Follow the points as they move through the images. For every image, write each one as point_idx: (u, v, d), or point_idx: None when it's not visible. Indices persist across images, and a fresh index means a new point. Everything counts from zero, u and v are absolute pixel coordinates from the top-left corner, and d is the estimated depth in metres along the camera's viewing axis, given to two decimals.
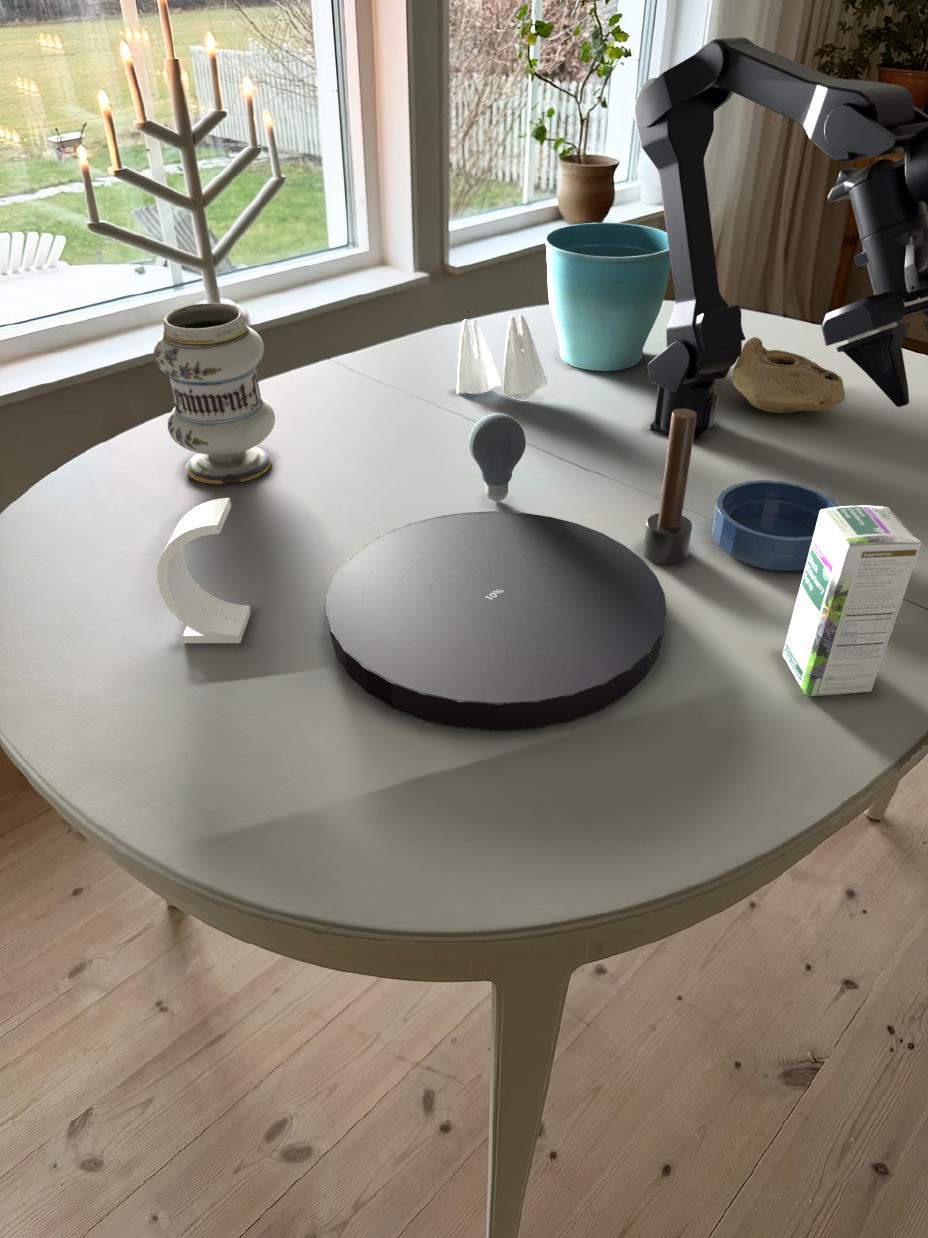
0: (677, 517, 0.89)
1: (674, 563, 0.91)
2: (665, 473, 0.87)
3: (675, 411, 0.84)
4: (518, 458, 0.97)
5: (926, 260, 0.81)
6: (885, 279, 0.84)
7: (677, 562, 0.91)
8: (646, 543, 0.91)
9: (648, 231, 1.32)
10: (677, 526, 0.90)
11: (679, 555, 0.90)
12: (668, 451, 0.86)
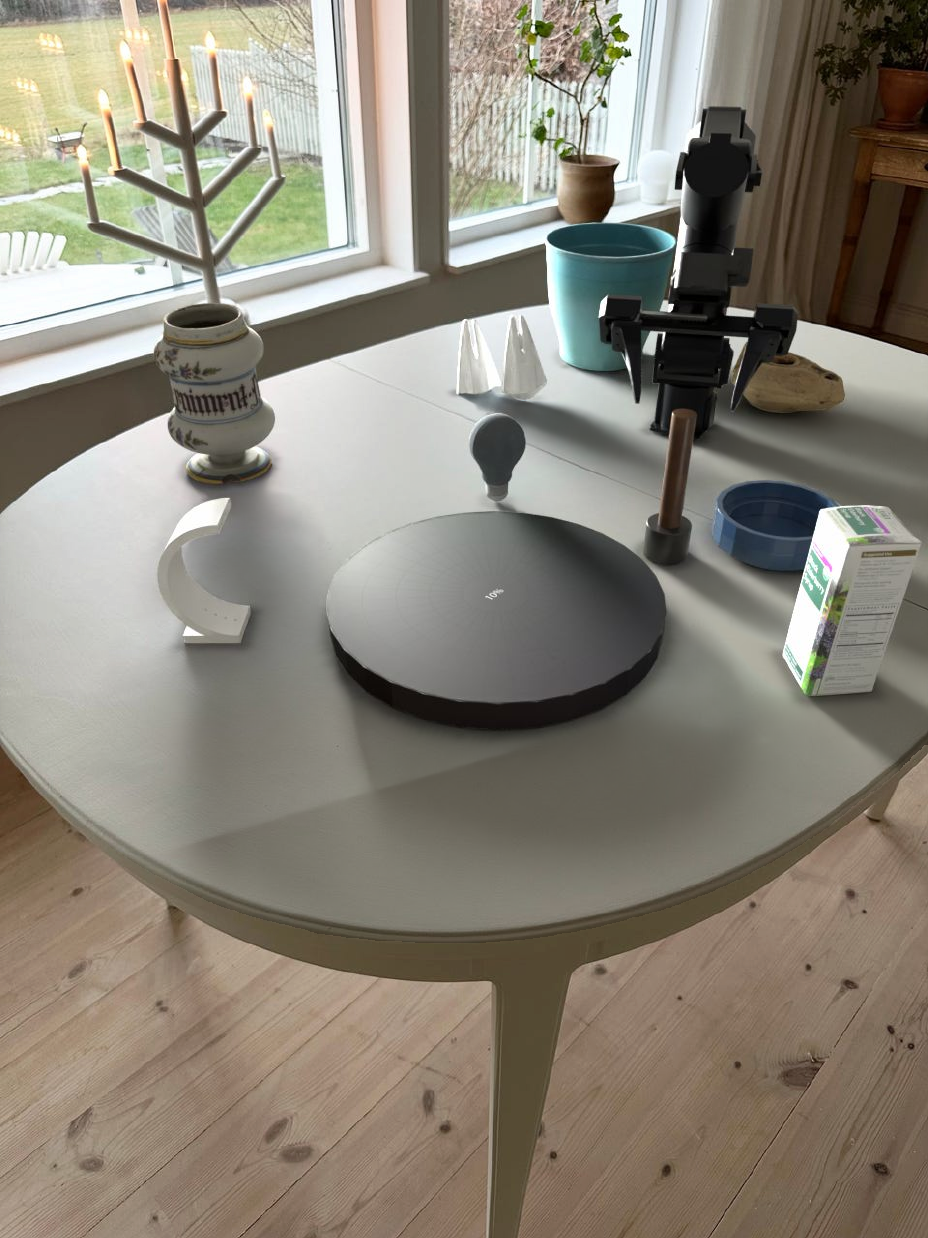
0: (677, 517, 0.89)
1: (674, 563, 0.91)
2: (665, 473, 0.87)
3: (675, 411, 0.84)
4: (518, 458, 0.97)
5: (674, 273, 0.89)
6: None
7: (677, 562, 0.91)
8: (646, 543, 0.91)
9: (648, 231, 1.32)
10: (677, 526, 0.90)
11: (679, 555, 0.90)
12: (668, 451, 0.86)
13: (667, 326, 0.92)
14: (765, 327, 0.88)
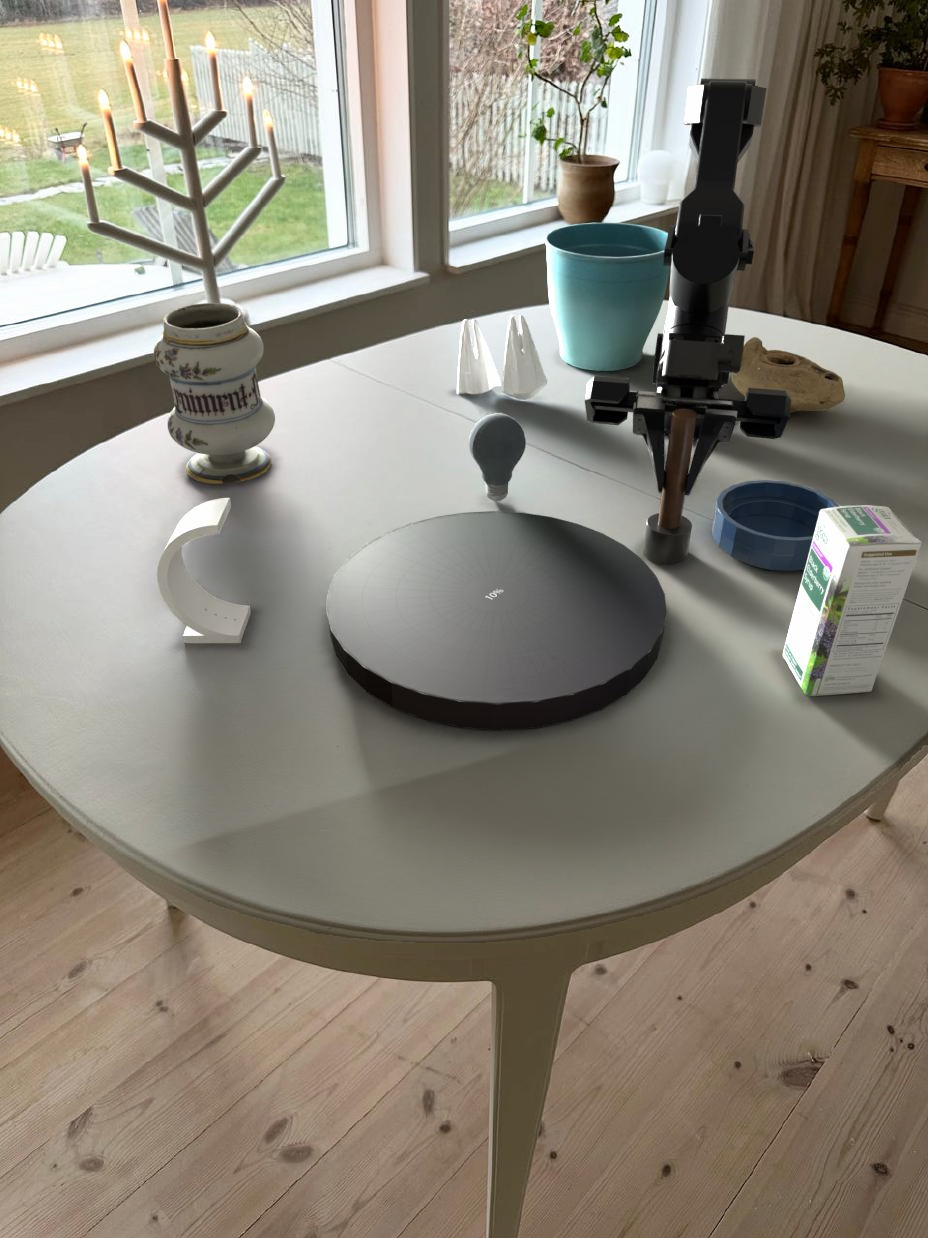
0: (677, 517, 0.89)
1: (674, 563, 0.91)
2: (665, 473, 0.87)
3: (675, 411, 0.84)
4: (518, 458, 0.97)
5: (663, 356, 0.85)
6: None
7: (677, 562, 0.91)
8: (646, 543, 0.91)
9: (648, 231, 1.32)
10: (677, 526, 0.90)
11: (679, 555, 0.90)
12: (668, 451, 0.86)
13: None
14: (757, 414, 0.84)
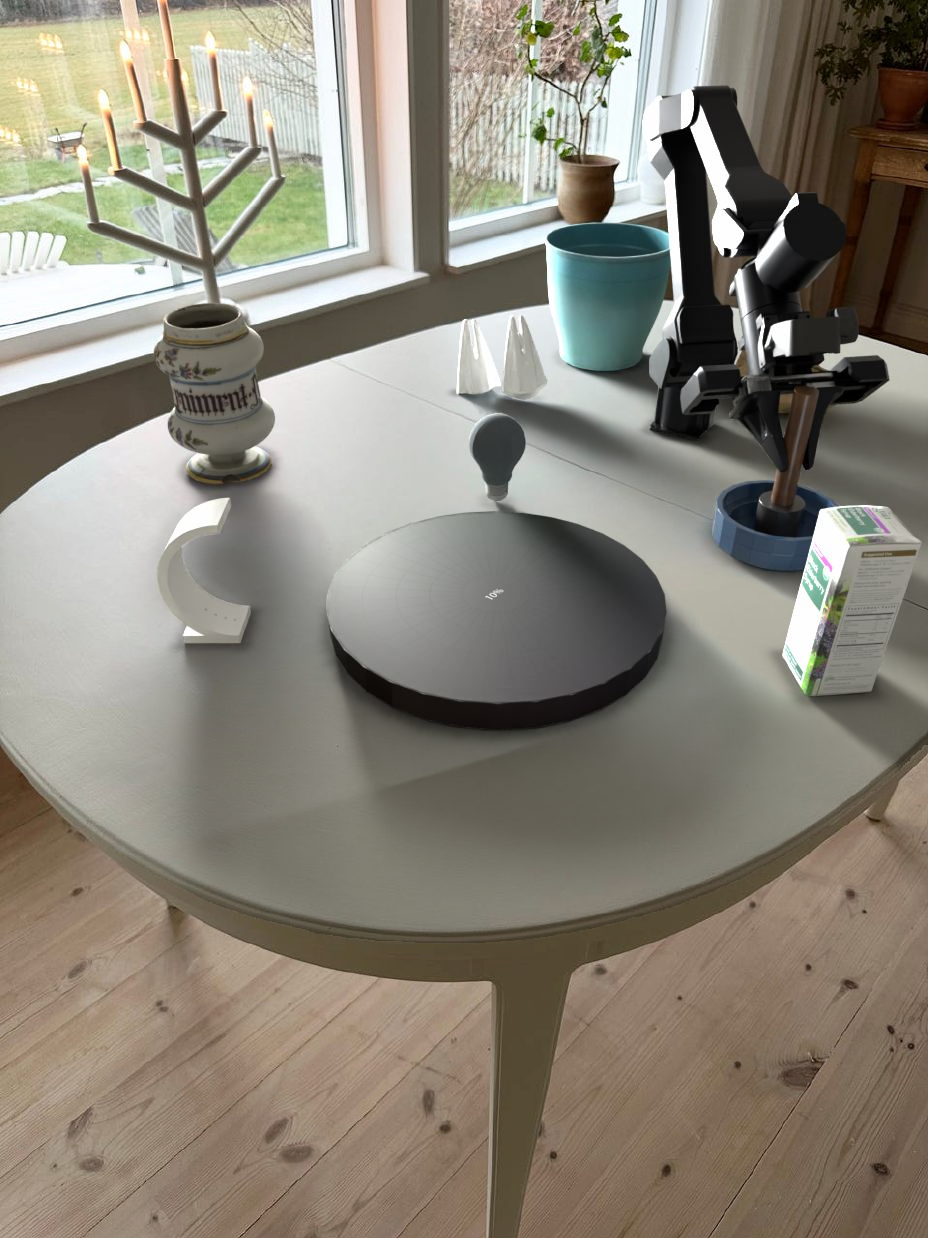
0: (794, 493, 0.90)
1: None
2: None
3: (797, 389, 0.85)
4: (518, 458, 0.97)
5: (769, 337, 0.85)
6: (749, 358, 0.89)
7: (795, 537, 0.92)
8: (763, 524, 0.91)
9: (648, 231, 1.32)
10: (793, 502, 0.91)
11: (797, 530, 0.92)
12: (791, 430, 0.86)
13: None
14: (862, 381, 0.87)
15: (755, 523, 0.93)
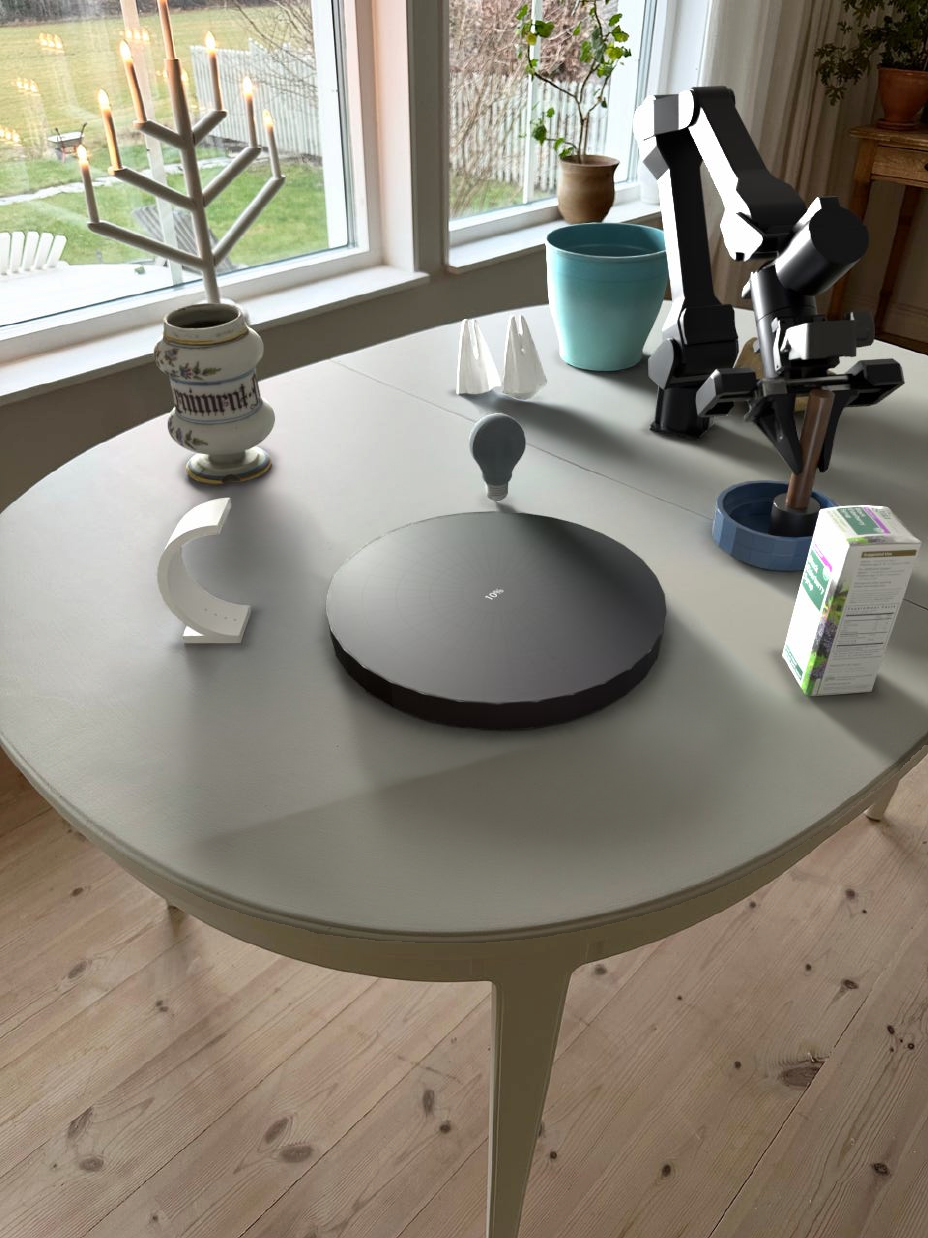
0: (809, 496, 0.90)
1: None
2: None
3: (812, 392, 0.85)
4: (518, 458, 0.97)
5: (785, 340, 0.86)
6: (765, 361, 0.90)
7: None
8: (778, 526, 0.92)
9: (648, 231, 1.32)
10: (807, 505, 0.91)
11: (812, 532, 0.92)
12: (806, 433, 0.86)
13: None
14: (877, 384, 0.87)
15: (769, 525, 0.93)
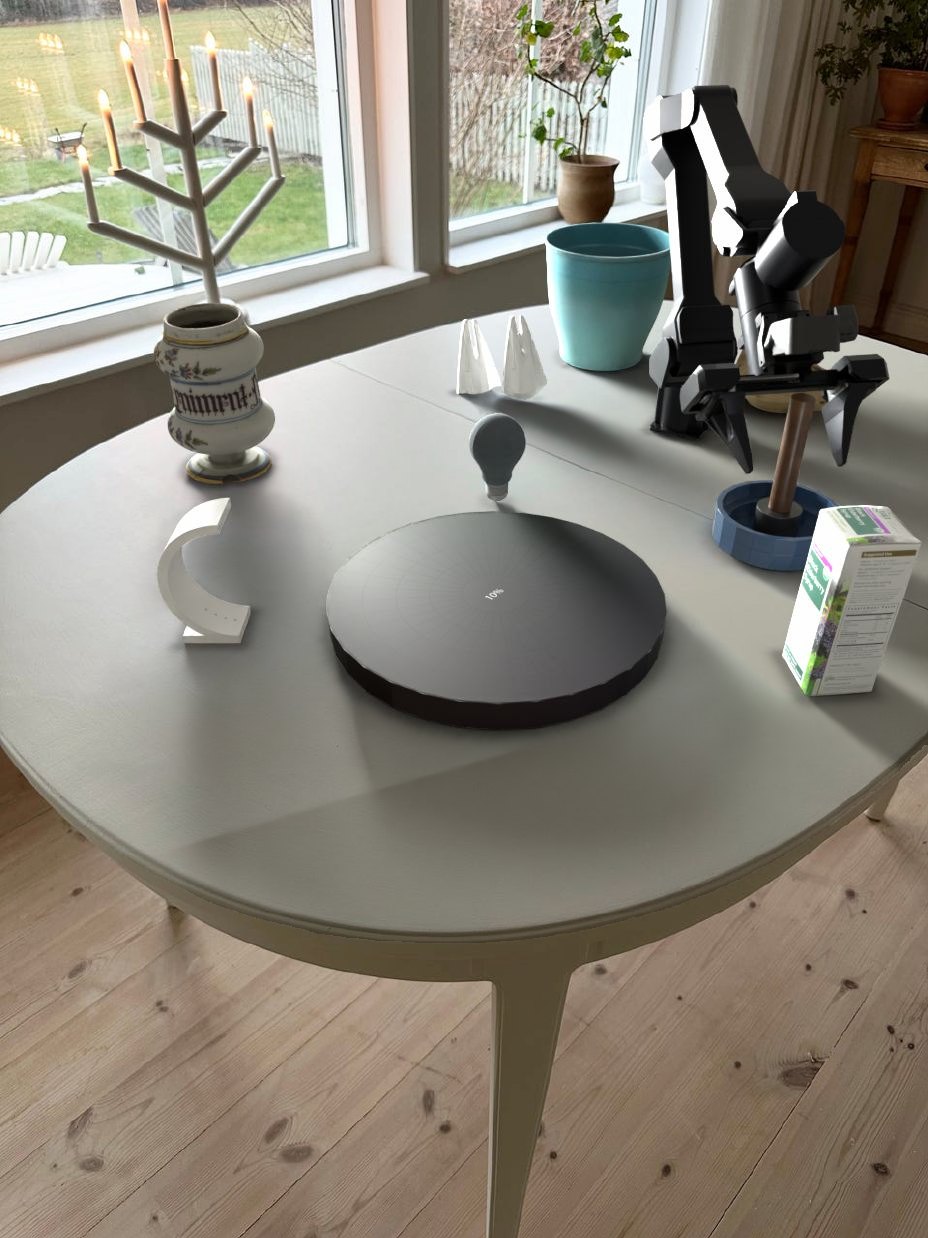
0: (792, 500, 0.90)
1: None
2: (783, 458, 0.88)
3: (793, 397, 0.85)
4: (518, 458, 0.97)
5: (768, 336, 0.85)
6: (749, 357, 0.89)
7: None
8: (761, 530, 0.92)
9: (648, 231, 1.32)
10: (790, 509, 0.91)
11: (795, 536, 0.92)
12: (788, 437, 0.86)
13: (757, 389, 0.88)
14: (862, 379, 0.87)
15: (753, 529, 0.93)
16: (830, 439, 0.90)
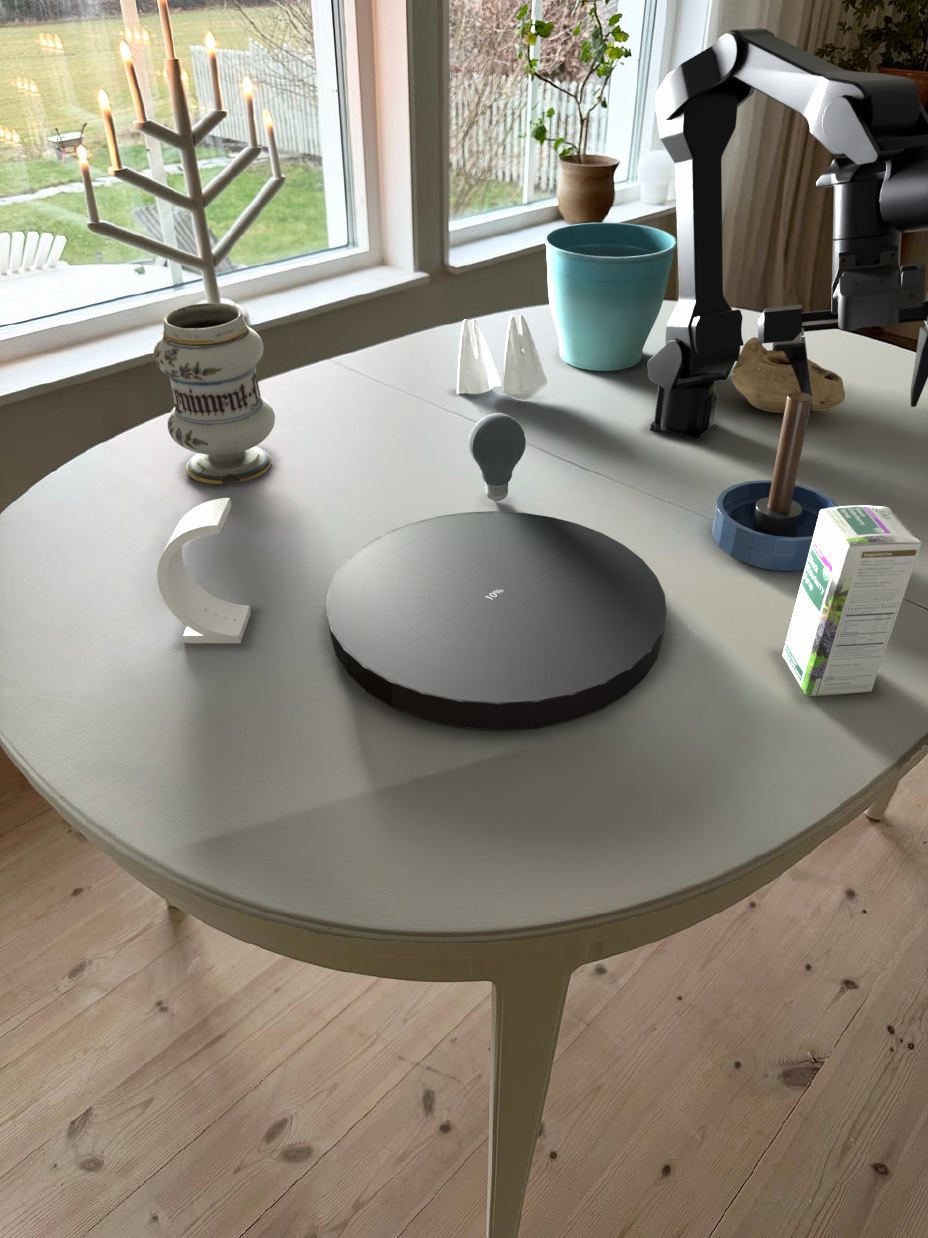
0: (791, 499, 0.90)
1: None
2: (781, 458, 0.88)
3: (790, 396, 0.85)
4: (518, 458, 0.97)
5: (836, 289, 0.82)
6: None
7: None
8: (760, 530, 0.92)
9: (648, 231, 1.32)
10: (790, 508, 0.91)
11: (795, 535, 0.92)
12: (785, 436, 0.87)
13: (833, 326, 0.87)
14: None
15: (752, 529, 0.93)
16: (913, 371, 0.88)
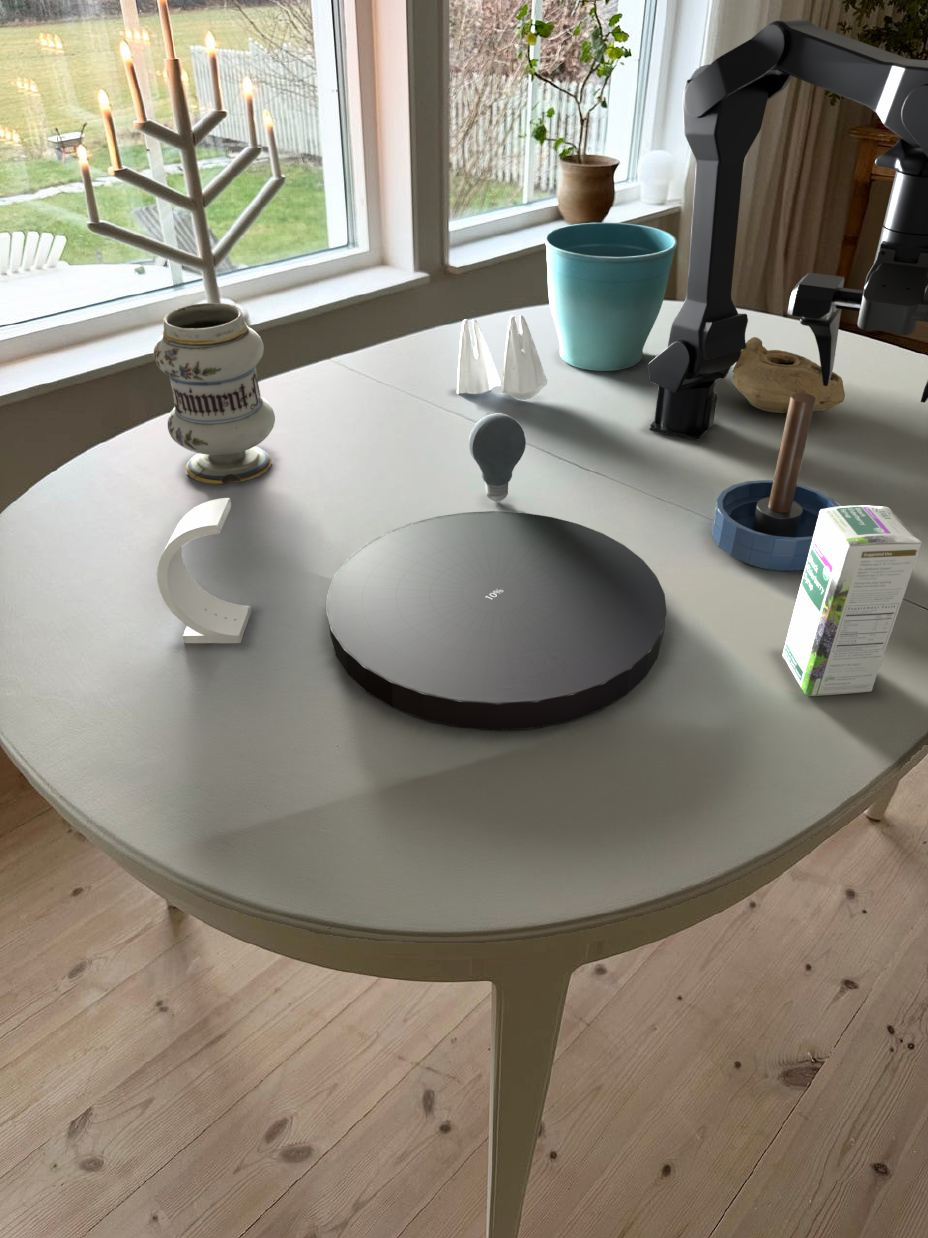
0: (792, 500, 0.90)
1: None
2: (783, 458, 0.88)
3: (793, 397, 0.85)
4: (518, 458, 0.97)
5: (868, 281, 0.83)
6: None
7: None
8: (761, 530, 0.92)
9: (648, 231, 1.32)
10: (790, 509, 0.91)
11: (795, 536, 0.92)
12: (788, 437, 0.86)
13: None
14: None
15: (753, 529, 0.93)
16: None
